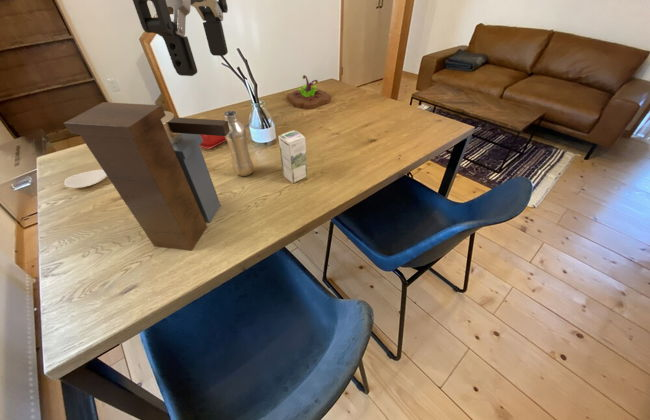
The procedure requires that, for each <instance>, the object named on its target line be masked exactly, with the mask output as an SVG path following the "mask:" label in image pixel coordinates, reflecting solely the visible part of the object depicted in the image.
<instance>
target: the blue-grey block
mask: <svg viewBox="0 0 650 420" xmlns="http://www.w3.org/2000/svg"><path fill="white" fill-rule="evenodd" d="M181 134H182V139H181V140H180V141H179V142H178V143H176V144H174V145H172V147H173V149H174V151H175V154H176V156H177V158H178V161H179V163H180V165H181V168H182V170H183V172H184V175H185V177H186V179H187V182H188V184H189V186H190V188H191V191H192V193H193V195H194V198H195V200H196V202H197V205H198V207H199V209H200V212H201V214H202V216H203V219H204V221H205V223H206V224H210V223H211V222H212V220H213V219H214V217H215V216H216V213H217V212H218V211H219V209H220V208H221V202H220V200H219V197H218V194H217V191H216V189H215V186H214V183H213V179H212V176H211V175H210V172H209V168H208V166H207V163H206V160H205V158H204V154H203V152H202V148H201V146H199V145H200V144H201V143H202V142H203V140H202V137H201V135H200V134H185V133H181Z"/></svg>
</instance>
